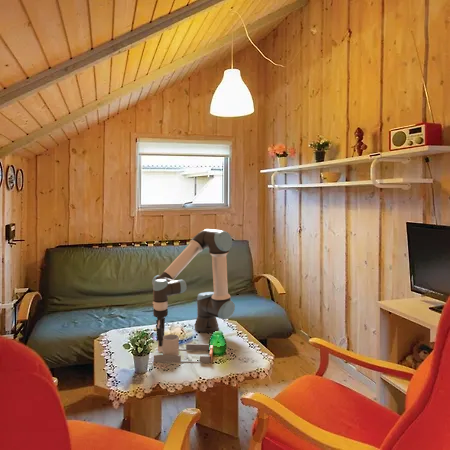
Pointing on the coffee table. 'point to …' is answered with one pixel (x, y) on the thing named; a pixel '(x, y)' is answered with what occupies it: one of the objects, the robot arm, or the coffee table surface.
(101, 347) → the coffee table surface
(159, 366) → the coffee table surface
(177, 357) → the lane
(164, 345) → the mug
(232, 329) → the coffee table surface
